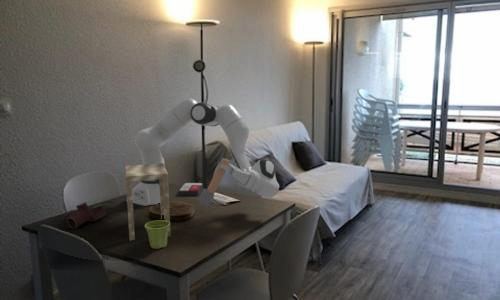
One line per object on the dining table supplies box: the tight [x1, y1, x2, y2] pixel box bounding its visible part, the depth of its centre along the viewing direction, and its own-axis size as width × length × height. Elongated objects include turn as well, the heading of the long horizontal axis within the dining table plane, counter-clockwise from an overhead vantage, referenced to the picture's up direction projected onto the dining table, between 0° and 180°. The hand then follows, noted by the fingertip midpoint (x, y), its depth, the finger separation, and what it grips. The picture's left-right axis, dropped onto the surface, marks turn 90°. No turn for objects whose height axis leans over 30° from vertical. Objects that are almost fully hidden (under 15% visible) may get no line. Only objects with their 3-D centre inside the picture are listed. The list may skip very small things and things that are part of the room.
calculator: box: [178, 182, 204, 197], centre depth 232 cm, size 11×4×15 cm
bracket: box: [66, 201, 106, 229], centre depth 183 cm, size 6×17×10 cm, turn 155°
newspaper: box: [212, 191, 241, 206], centre depth 218 cm, size 23×12×2 cm, turn 39°
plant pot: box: [144, 219, 171, 250], centre depth 156 cm, size 9×9×9 cm
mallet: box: [197, 157, 231, 208], centre depth 179 cm, size 22×6×4 cm
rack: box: [125, 163, 171, 242], centre depth 172 cm, size 16×22×26 cm
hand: (219, 164), depth 179 cm, fingers closed on mallet, 3 cm apart
